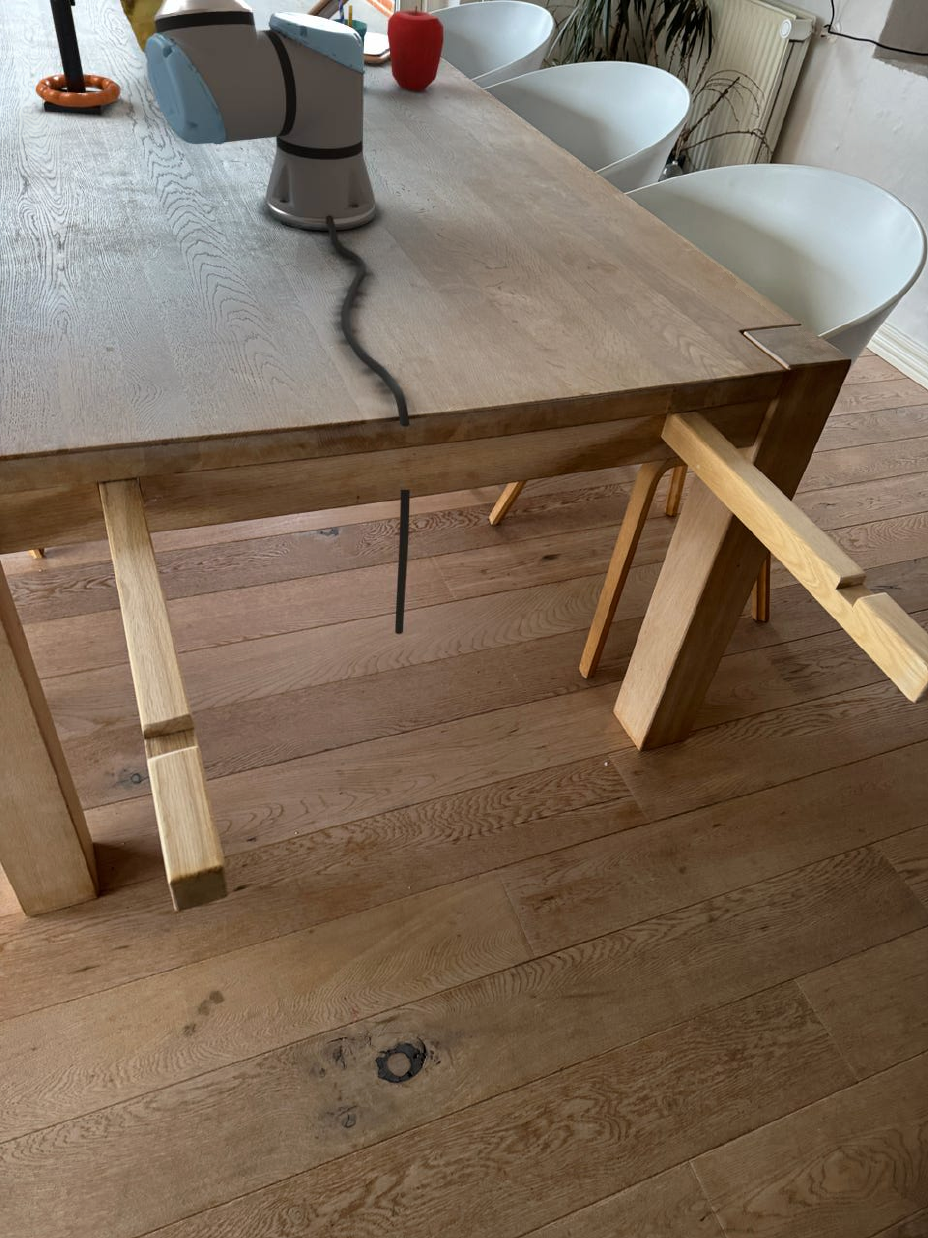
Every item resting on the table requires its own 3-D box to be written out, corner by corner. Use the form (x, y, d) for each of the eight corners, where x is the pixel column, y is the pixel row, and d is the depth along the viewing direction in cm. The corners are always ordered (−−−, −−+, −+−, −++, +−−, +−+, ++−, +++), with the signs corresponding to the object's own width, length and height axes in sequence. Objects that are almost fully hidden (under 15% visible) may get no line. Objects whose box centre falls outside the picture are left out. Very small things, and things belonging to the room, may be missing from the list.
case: (321, 32, 204) (319, -56, 193) (410, 47, 201) (413, -42, 190) (284, 51, 189) (279, -43, 178) (379, 67, 187) (381, -27, 175)
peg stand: (101, 115, 151) (82, 6, 140) (44, 111, 150) (21, 1, 139) (112, 99, 157) (95, -6, 146) (58, 95, 156) (37, -11, 145)
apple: (450, 89, 180) (455, 8, 170) (415, 97, 174) (419, 13, 164) (410, 76, 184) (413, -4, 175) (375, 83, 178) (377, 1, 169)
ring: (115, 110, 149) (113, 96, 148) (31, 105, 147) (28, 92, 146) (125, 87, 159) (123, 74, 157) (46, 83, 156) (43, 70, 155)
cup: (315, 77, 178) (313, -15, 167) (353, 76, 180) (353, -15, 170) (337, 98, 169) (336, 2, 158) (377, 97, 171) (379, 3, 161)
